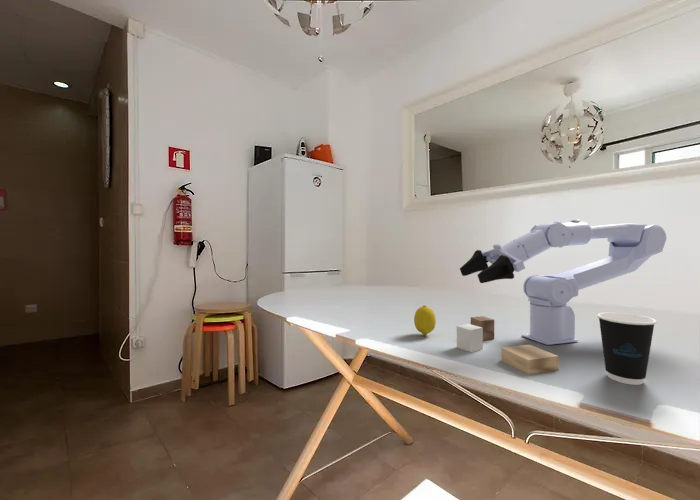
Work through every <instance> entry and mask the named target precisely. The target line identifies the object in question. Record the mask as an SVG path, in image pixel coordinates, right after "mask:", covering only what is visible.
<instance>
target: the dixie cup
mask: <svg viewBox="0 0 700 500" xmlns="http://www.w3.org/2000/svg"><path fill="white" fill-rule="evenodd" d="M596 316H597V318H598V320H599V329H600V337H601V344H602V345H601V346H602V353H603V360H604V368H605V371H606V373H607V377H608V378H609V379H611V380H613V381H616V382H619V383H621V384H626V385H635V386H639V385H643V384H644V380H645V379H646V377H647V372H648V366H649V364H648V363H649V358H650V351H651V348H652V346H651V345H652V341H653V334H654V327H655V325H656V324H657V319H654V318H652V317H649V316H646V315H645V316H644V315H640V314H639V315H638V314H634V313H633V314H632V313H626V312H625V313H624V312H613V311H611V312H610V311H609V312H608V311H607V312H599V313H597V315H596Z"/></svg>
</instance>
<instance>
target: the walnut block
mask: <svg viewBox="0 0 700 500" xmlns="http://www.w3.org/2000/svg"><path fill="white" fill-rule="evenodd" d="M470 324H471V325H475V326H478V327H482V328H483V341H491V340H495V319H493V318H491V317H488V316H485V315H484V316H482V315H481V316H471V317H470Z"/></svg>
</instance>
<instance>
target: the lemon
mask: <svg viewBox="0 0 700 500" xmlns="http://www.w3.org/2000/svg"><path fill="white" fill-rule="evenodd" d="M436 323H437V321H436V315H435V311H434V310H432V308H430V307H429V306H427V305H426V304H424V305H423V306H420V307H419V308H417V309H416V311H415V313H414V318H413V324H414V326H415V328H416V330H417V331H418V332H419V333H421V334H422V335H423V336H427V335H428V334H430V333H432V332H433V331H434V329H435V328H436Z"/></svg>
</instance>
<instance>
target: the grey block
mask: <svg viewBox="0 0 700 500" xmlns="http://www.w3.org/2000/svg"><path fill="white" fill-rule="evenodd" d="M483 347H484V340H483V328H482V327H478V326H475V325H471V323H467V324H466V323H465V324H460V325H456V348H457V349H461V350H463V351H466V352H470V353H473V352H477V351H481V350H483V349H484V348H483Z"/></svg>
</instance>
